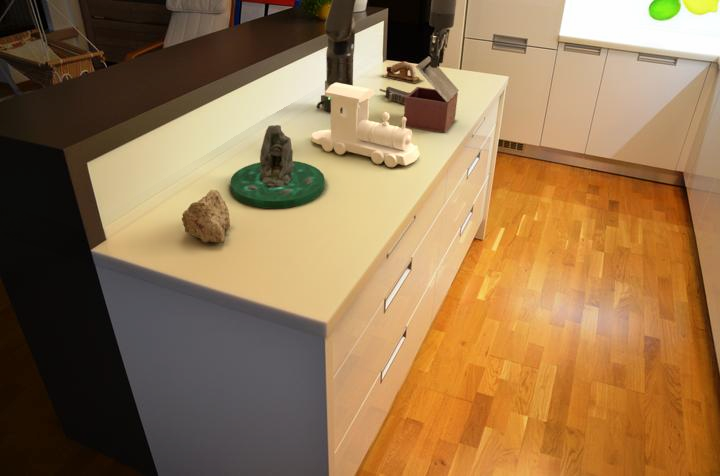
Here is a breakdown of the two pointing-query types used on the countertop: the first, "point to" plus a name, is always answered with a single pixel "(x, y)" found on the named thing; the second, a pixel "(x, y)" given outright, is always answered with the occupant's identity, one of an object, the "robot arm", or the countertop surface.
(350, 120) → the toy train
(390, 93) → the toy gun
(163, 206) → the countertop surface
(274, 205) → the diorama
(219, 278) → the countertop surface
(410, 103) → the open wooden cubby
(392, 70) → the sculpture
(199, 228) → the rock
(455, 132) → the countertop surface
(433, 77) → the lid
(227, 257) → the countertop surface
